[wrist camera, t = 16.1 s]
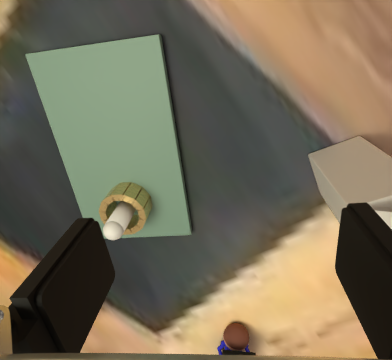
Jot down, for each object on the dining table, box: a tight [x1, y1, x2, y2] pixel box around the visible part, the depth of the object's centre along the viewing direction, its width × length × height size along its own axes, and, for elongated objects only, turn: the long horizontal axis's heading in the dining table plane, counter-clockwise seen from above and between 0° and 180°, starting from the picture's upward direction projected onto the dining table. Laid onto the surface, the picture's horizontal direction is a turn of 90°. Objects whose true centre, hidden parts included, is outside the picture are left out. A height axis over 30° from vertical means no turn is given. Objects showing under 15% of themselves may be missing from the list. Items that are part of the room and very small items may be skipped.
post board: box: [25, 35, 192, 240], centre depth 38 cm, size 30×18×10 cm, turn 7°
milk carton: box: [308, 136, 392, 229], centre depth 32 cm, size 7×7×19 cm
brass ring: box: [99, 182, 152, 235], centre depth 43 cm, size 7×7×4 cm
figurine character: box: [218, 323, 256, 356], centre depth 57 cm, size 7×8×15 cm
